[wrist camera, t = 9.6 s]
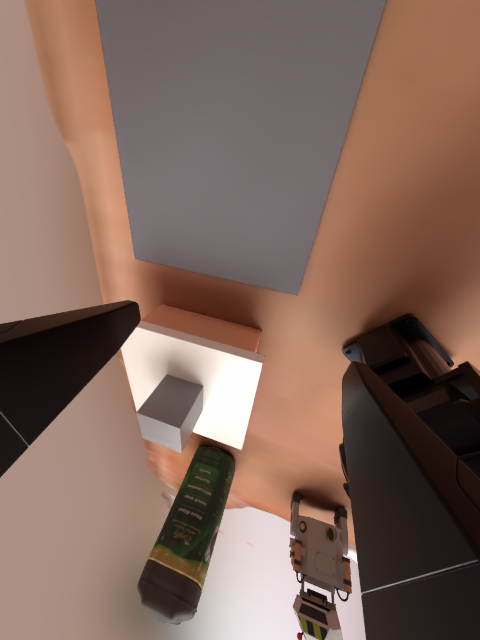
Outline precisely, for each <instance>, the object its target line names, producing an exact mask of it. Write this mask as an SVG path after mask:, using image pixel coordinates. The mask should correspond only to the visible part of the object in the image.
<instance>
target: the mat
mask: <svg viewBox="0 0 480 640" xmlns="http://www.w3.org/2000/svg"><path fill="white" fill-rule="evenodd" d="M385 2H386V0H95V3H96V9H97V16H98V22H99V29H100V35H101V42H102V48H103V55H104V61H105V68H106V74H107V81H108V87H109V94H110V100H111V107H112V113H113V120H114V126H115V133H116V139H117V145H118V152H119V158H120V165H121V171H122V178H123V184H124V191H125V197H126V204H127V210H128V217H129V223H130V230H131V236H132V243H133V249H134V256H135V259H138V260H143V261H147V262H151V263H156V264H160V265H165V266H169V267H173V268H178V269H182V270H187V271H191V272H195V273H200V274H204V275H209V276H213V277H217V278H222V279H226V280H231V281H235V282H240V283H244V284H248V285H253V286H257V287H262V288H266V289H270V290H275V291H279V292H284V293H288V294H292V295H297V296H298V293H299V290H300V286H301V283H302V280H303V276H304V273H305V270H306V266H307V263H308V260H309V256H310V253H311V249H312V246H313V243H314V239H315V236H316V233H317V229H318V226H319V223H320V219H321V216H322V213H323V209H324V206H325V203H326V199H327V196H328V193H329V189H330V186H331V183H332V179H333V176H334V173H335V169H336V166H337V163H338V159H339V156H340V153H341V149H342V146H343V143H344V139H345V136H346V133H347V129H348V126H349V123H350V119H351V116H352V113H353V109H354V106H355V103H356V99H357V96H358V93H359V89H360V86H361V83H362V79H363V76H364V73H365V69H366V66H367V63H368V59H369V56H370V53H371V49H372V46H373V43H374V39H375V36H376V33H377V29H378V26H379V22H380V19H381V16H382V12H383V9H384V6H385Z"/></svg>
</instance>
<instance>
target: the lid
mask: <svg viewBox="0 0 480 640" xmlns="http://www.w3.org/2000/svg"><path fill="white" fill-rule="evenodd" d="M121 350H122V354H123V358H124V362H125V366H126V370H127V374H128V378H129V382H130V386H131V390H132V394H133V398H134V402H135V406H136V410H137V412H136V413H137V417H138V421H139V425H140V429H141V433H142V437H143V438H144V439H147V440H149V441H152V442H154V443H157V444H159V445H162V446H164V447H167V448H170V449H172V450H175V451H177V452H180V453H182V452H183V450H184V448H185V445H186V443H187V441H188V439H189V437H190V435H191V433H192V432H194V433H197V434H200V435H202V436H205V437H208V438H210V439H213V440H216V441H219V442H221V443H224V444H227V445H229V446H232V447H235V448H238V449H240V450H242V446H243V442H244V438H245V434H246V430H247V426H248V422H249V418H250V414H251V410H252V406H253V402H254V398H255V394H256V390H257V385H258V381H259V377H260V373H261V369H262V365H263V361H264V357H265V355H261V354H258V353H254V352H251V351H247V350H244V349H240V348H237V347H233V346H229V345H226V344H222V343H219V342H215V341H212V340H208V339H205V338H201V337H197V336H194V335H190V334H187V333H183V332H180V331H176V330H173V329H169V328H165V327H162V326H158V325H155V324H151V323H148V322H144V321H141V320H140V323H139V325H138V326H137V327H136V329H135V330H134V331H133V332H132V334H131V335H130V336H129V338H128V339H127V340H126V342H125V343H124V344H123V346H122V347H121Z"/></svg>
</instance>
